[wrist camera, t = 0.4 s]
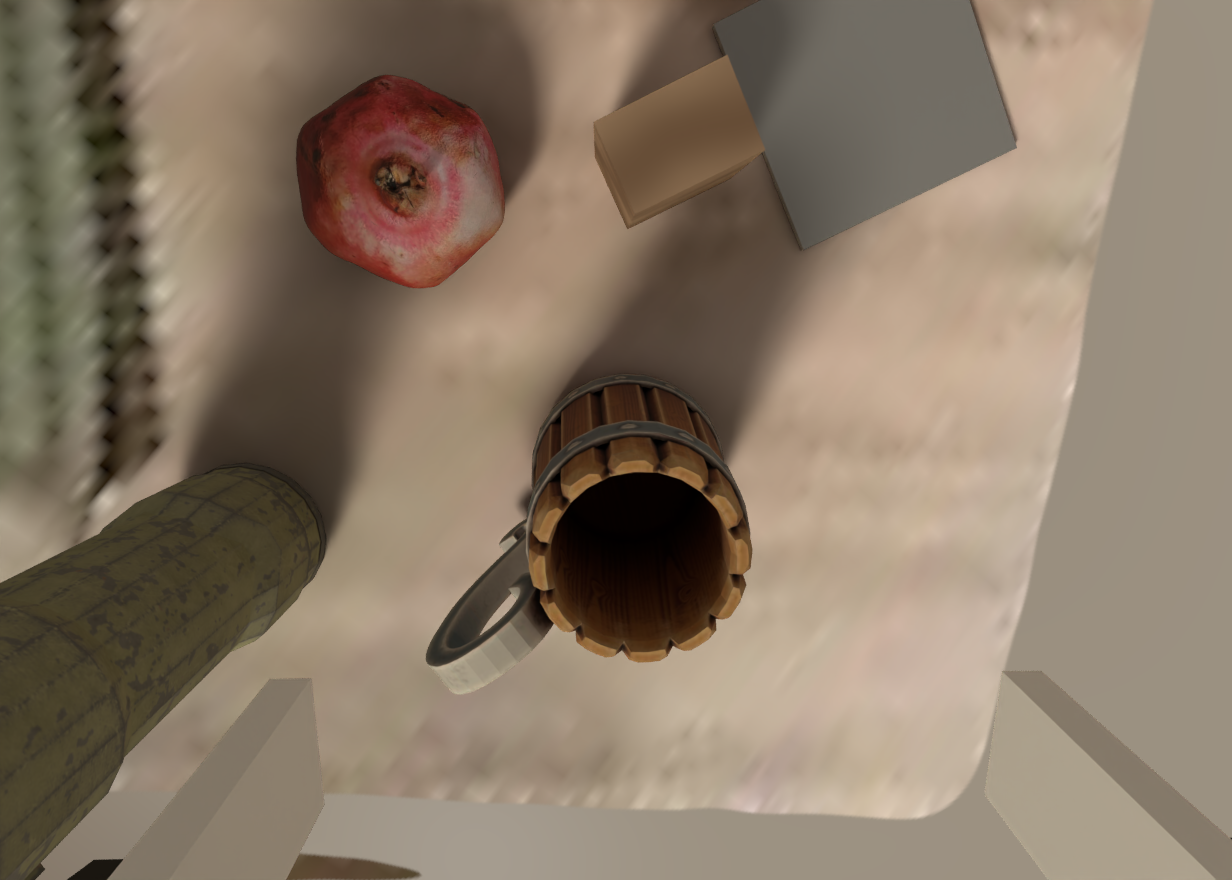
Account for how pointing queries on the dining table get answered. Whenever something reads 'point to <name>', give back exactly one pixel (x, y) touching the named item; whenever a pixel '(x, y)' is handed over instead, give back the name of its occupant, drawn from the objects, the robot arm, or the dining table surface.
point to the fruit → (400, 181)
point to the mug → (609, 538)
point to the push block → (676, 142)
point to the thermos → (134, 637)
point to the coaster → (864, 102)
